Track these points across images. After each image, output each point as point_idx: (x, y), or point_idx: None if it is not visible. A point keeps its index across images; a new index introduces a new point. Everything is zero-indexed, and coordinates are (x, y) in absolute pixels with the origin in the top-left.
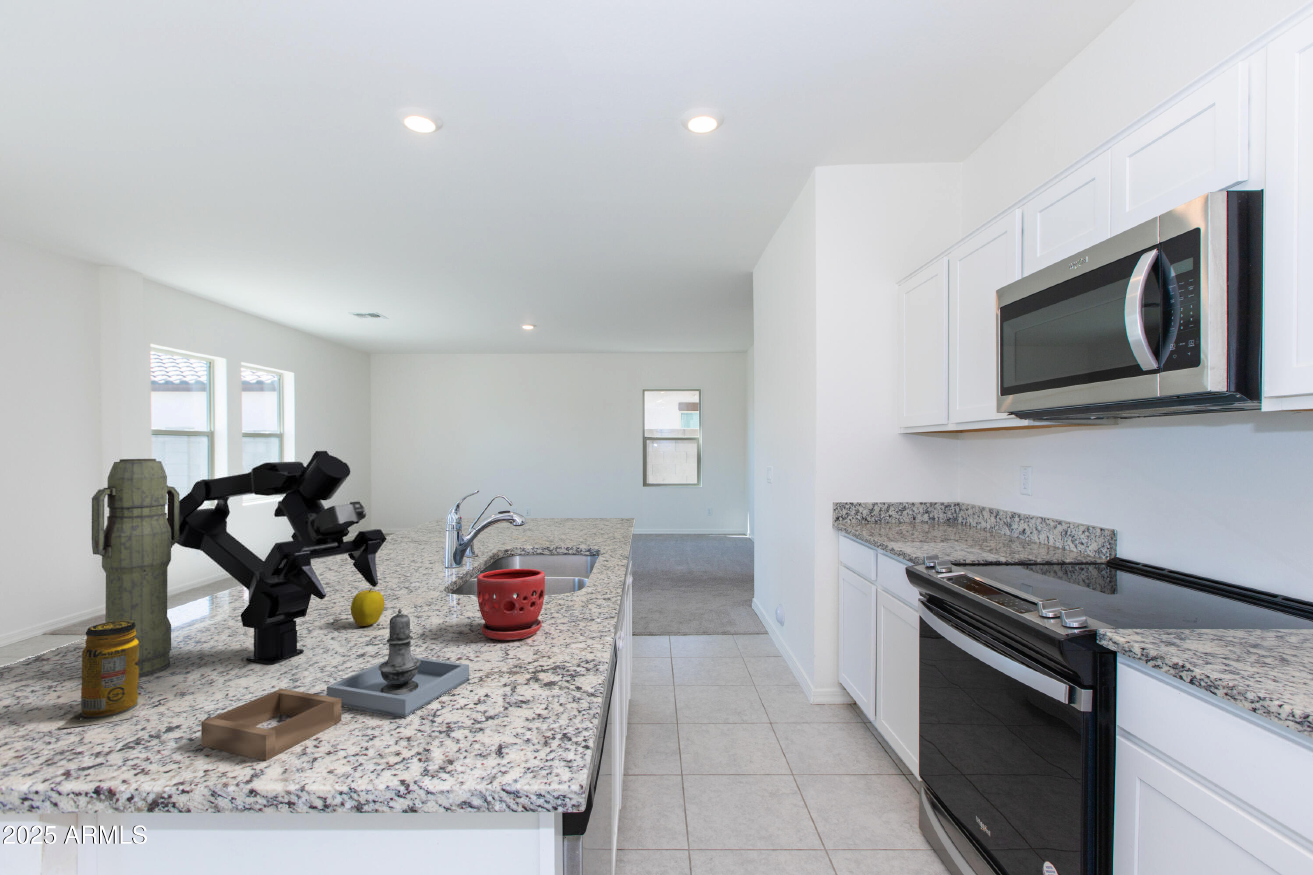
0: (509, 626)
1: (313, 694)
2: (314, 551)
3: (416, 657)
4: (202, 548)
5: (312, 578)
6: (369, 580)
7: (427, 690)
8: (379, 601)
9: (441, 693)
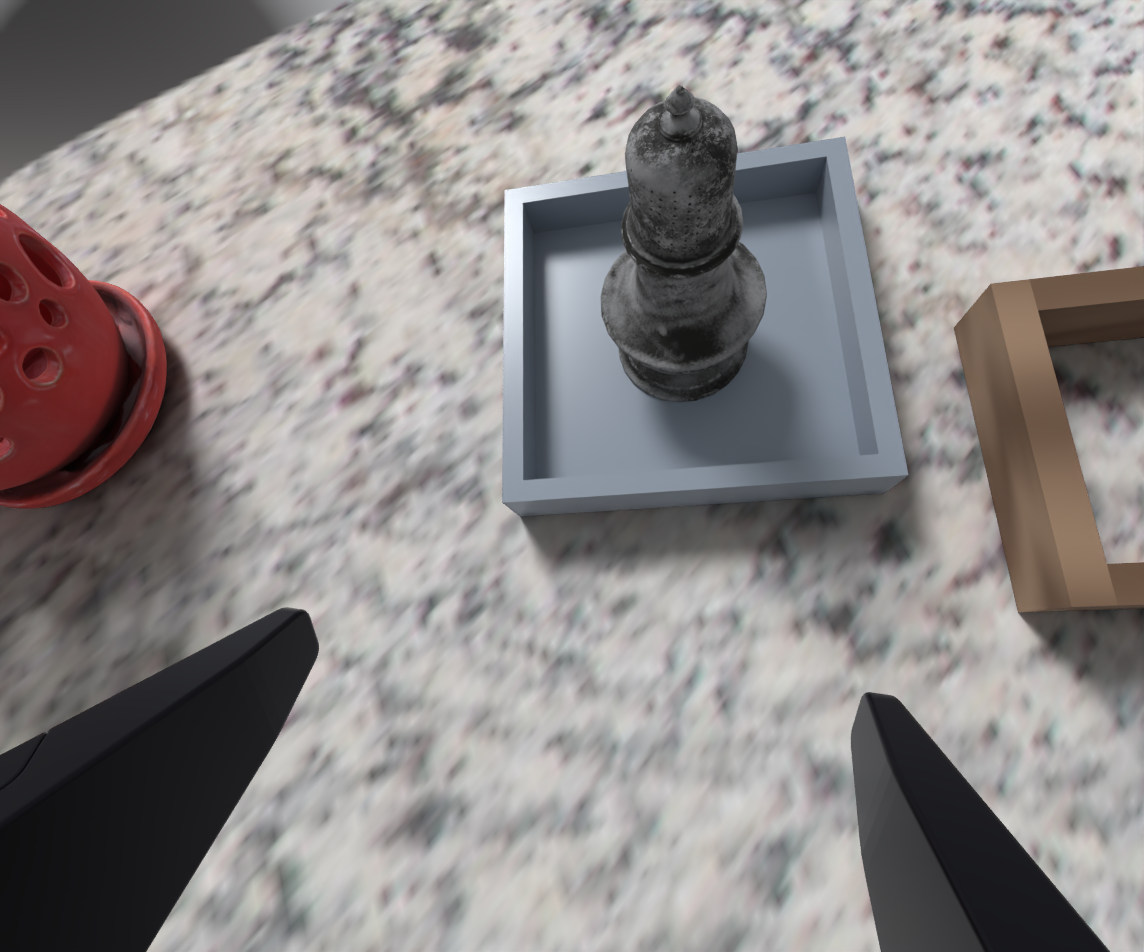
0: (116, 325)
1: (1028, 412)
2: None
3: (505, 405)
4: None
5: (1084, 940)
6: (266, 718)
7: None
8: None
9: None
